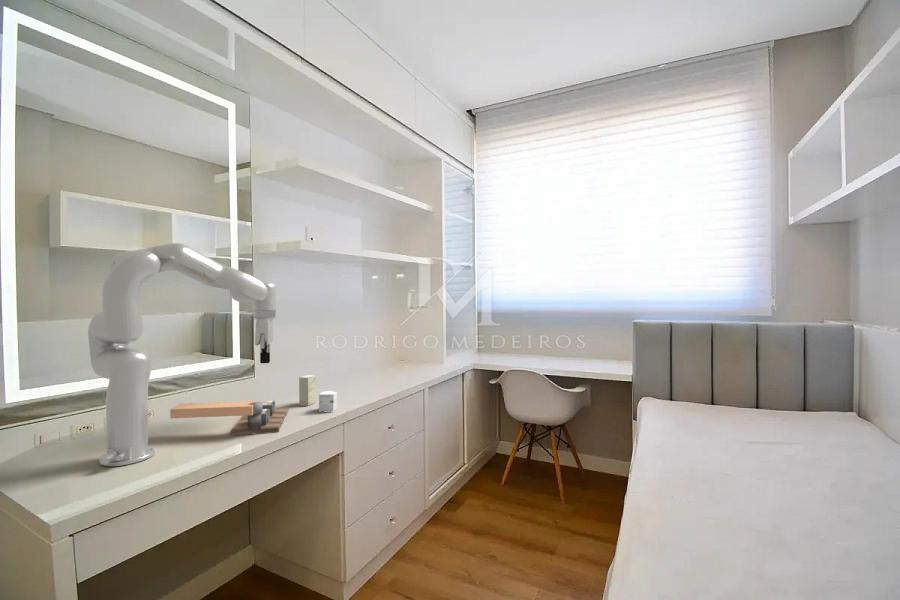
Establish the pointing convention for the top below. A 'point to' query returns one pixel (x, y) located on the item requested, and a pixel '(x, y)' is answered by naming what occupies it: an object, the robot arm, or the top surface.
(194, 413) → the swing arm
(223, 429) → the top surface
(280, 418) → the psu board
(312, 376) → the skincare box
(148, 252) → the robot arm
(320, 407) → the skincare box
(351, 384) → the top surface
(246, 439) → the top surface
